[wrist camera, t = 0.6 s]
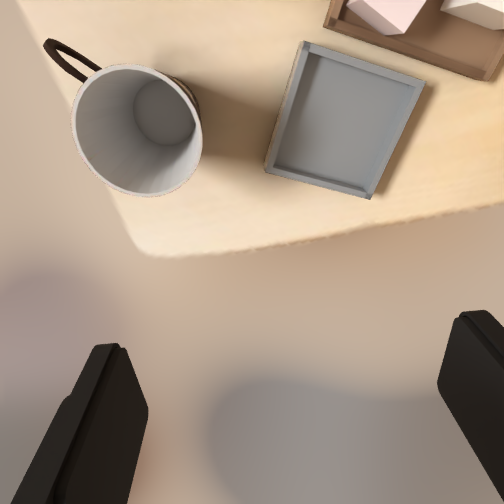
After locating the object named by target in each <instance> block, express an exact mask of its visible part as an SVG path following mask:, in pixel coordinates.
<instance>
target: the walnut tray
mask: <svg viewBox="0 0 504 504" xmlns="http://www.w3.org/2000/svg"><path fill="white" fill-rule="evenodd" d="M348 1H349V0H331V3H330V6H329V9H328V12H327V15H326V19H325V22H324V25H323V27H325V28H327V29H330V30H333V31H336V32H339V33H342V34H345V35H348V36H351V37H353V38H356V39H359V40H362V41H365V42H368V43H371V44H374V45H377V46H379V47H382V48H385V49H388V50H391V51H394V52H397V53H400V54H403V55H405V56H408V57H411V58H414V59H417V60H420V61H423V62H426V63H429V64H432V65H434V66H437V67H440V68H443V69H446V70H449V71H452V72H455V73H458V74H460V75H463V76H466V77H469V78H472V79H475V80H480V81H489V79H490V77H491V76H492V74H493V72H494V70H495V68H496V67H497V65H498V63H499V61H500V59H501V58H502V56H503V54H504V29H498V30H491V29H489V28H486V27H483V26H481V25H478V24H475V23H473V22H470V21H468V20H465V19H462V18H460V17H457V16H454V15H452V14H449V13H446V12H444V11H441V10H440V9H441V6H442V4H443V2H444V0H426V2H425V3H424V5H423V6H422V8H421V9H420V10H419V12H418V13H417V15H416V16H415V18H414V19H413V21H412V22H411V24H410V25H409V27H408V28H407V30H406V31H405V33H403V34H394V35H385V36H384V35H382V34H381V33H380V32H379V31H377V30H376V29H375V28H374V27H372V26H371V25H370V24H368V23H367V22H366V21H365V20H363V19H362V18H361V17H360V16H358V15H357V14H356V13H354V12H353V11H352V10H351V9H349V8H348V7H347V6H346V4H347V2H348Z"/></svg>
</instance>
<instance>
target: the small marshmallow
mask: <svg viewBox="0 0 504 504" xmlns="http://www.w3.org/2000/svg"><path fill="white" fill-rule="evenodd" d="M425 2H426V0H349V1H348V2H347V4H346V6H347V7H348V8H349V9H351V10H352V11H353V12H354V13H356V14H357V15H358V16H360V17H361V18H362V19H363V20H365V21H366V22H367V23H368V24H370V25H371V26H372V27H374V28H375V29H376V30H377V31H379V32H380V33H381V34H382V35H384V36H385V35H394V34H403V33H405V31H406V30H407V28H408V27H409V25H410V24H411V22H412V21H413V19H414V18H415V16H416V15H417V13H418V12H419V10H420V9H421V8H422V6H423V5H424V3H425Z"/></svg>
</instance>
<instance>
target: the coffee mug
mask: <svg viewBox="0 0 504 504" xmlns="http://www.w3.org/2000/svg"><path fill="white" fill-rule="evenodd" d="M43 47H44V49H45V50H46V52H47V53H48V54H49V56H50V57H51V58H52V59H53V60H54V61H55V62H56V63H57V64H58V65H59V66H60V67H61V68H63V69H64V70H65V71H66V72H67V73H69V74H70V75H72V76H74V77H75V78H77V79H78V80H80V81H81V82H83V83H84V84H83V85H82V86H81V87H80V89H79V91H78V93H77V95H76V97H75V99H74V102H73V107H72V111H71V128H72V134H73V139H74V142H75V144H76V147H77V150H78V152H79V154H80V156H81V157H82V159H83V161H84V163H85V164H86V165H87V166H88V167H89V169H90V170H91V171H92V172H93V173H94V174H95V175H96V176H97V177H98V178H99V179H100V180H101V181H102V182H104V183H105V184H107V185H109V186H110V187H112V188H113V189H115V190H118V191H120V192H122V193H125V194H128V195H132V196H136V197H156V196H162V195H165V194H168V193H171V192H173V191H174V190H176V189H178V188H180V187H181V186H182V185H183V184H184V183H185V182H187V181H188V180H189V178H190V177H191V176H192V174H193V173H194V171H195V170H196V168H197V165H198V163H199V161H200V157H201V152H202V126H201V117H200V110H199V105H198V102H197V100H196V98H195V96H194V94H193V93H192V91H191V90H190V89H189V88H188V87H187V86H186V85H185V84H184V83H183V82H181V81H180V80H178V79H176V78H174V77H171V76H169V75H166V74H164V73H162V72H159V71H157V70H154V69H151V68H148V67H145V66H141V65H135V64H118V65H111V66H109V67H106V68H104V69H102V68H100V67H99V66H97V65H96V64H95V63H93V62H92V61H90V60H89V59H87V58H86V57H84V56H83V55H81V54H79V53H78V52H76V51H75V50H73V49H71V48H70V47H68V46H66V45H64V44H62V43H61V42H59V41H57V40H54V39H50V38H49V39H47V40H46V41H45V43H44V44H43ZM56 49H57V50H60V51H61V52H64V53H66V54H67V55H69V56H71V57H73V58H75V59H77V60H79V61H80V62H82V63H83V64H85V65H86V66H88V67H89V68H91V69H92V70H94V71H95V72H96V73H94V74H93V75H92V76H90V77H89V78H88V77H86V76H85V75H83V74H82V73H80V72H79V71H78V70H77V69H75V68H74V67H73V66H72V65H70V64H69V63H68V62H67V61H65V60H64V59H63V58H62V57H61V55H60V54H59V53H58V52H57V50H56Z"/></svg>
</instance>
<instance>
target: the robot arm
mask: <svg viewBox="0 0 504 504" xmlns="http://www.w3.org/2000/svg"><path fill="white" fill-rule="evenodd" d="M437 385H438V390H439V392H440V394H441V396H442V398H443V399H444V401H445V403H446V405H447V406H448V408H449V410H450V411H451V413H452V415H453V417H454V418H455V420H456V422H457V423H458V425H459V427H460V428H461V430H462V432H463V433H464V435H465V437H466V439H467V440H468V442H469V444H470V445H471V447H472V449H473V450H474V452H475V454H476V455H477V457H478V459H479V461H480V462H481V464H482V466H483V467H484V469H485V471H486V472H487V474H488V476H489V478H490V479H491V481H492V482H493V484H494V486H495V488H496V489H497V491H498V493H499V495H500V496H501V498H502V499H503V501H504V327H503V326H502V325H501V324H500V323H499V322H498V321H497V320H496V319H495V318H494V317H493V316H492V315H491V314H490V313H489V312H488V311H486V310H478V311H466V312H462V313H461V314H460V315H459V317H458V318H455V319H454V322H453V326H452V330H451V333H450V337H449V340H448V344H447V348H446V351H445V355H444V359H443V362H442V366H441V369H440V373H439V377H438V380H437ZM147 420H148V406H147V403H146V401H145V398H144V395H143V393H142V390H141V387H140V385H139V382H138V379H137V377H136V374H135V371H134V369H133V366H132V363H131V361H130V358H129V356H128V353H127V350H126V349H125V348H121V347H120V346H119V344H118V343H111V344H100V345H96V346H95V347H94V348H93V349H92V352H91V354H90V356H89V358H88V360H87V362H86V364H85V366H84V368H83V370H82V372H81V374H80V376H79V378H78V380H77V382H76V384H75V386H74V388H73V390H72V393H71V394H70V395H69V396H67V397H66V398H65V399H64V400H63V402H62V403H61V405H60V407H59V409H58V411H57V413H56V415H55V416H54V418H53V420H52V422H51V424H50V426H49V428H48V430H47V432H46V434H45V436H44V438H43V440H42V442H41V444H40V446H39V448H38V450H37V452H36V454H35V456H34V458H33V460H32V462H31V464H30V466H29V468H28V470H27V472H26V474H25V476H24V478H23V480H22V482H21V484H20V486H19V488H18V490H17V492H16V494H15V496H14V498H13V500H12V502H11V504H127V501H128V497H129V493H130V489H131V485H132V481H133V477H134V473H135V469H136V464H137V460H138V457H139V453H140V448H141V444H142V441H143V436H144V432H145V428H146V424H147Z"/></svg>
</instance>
